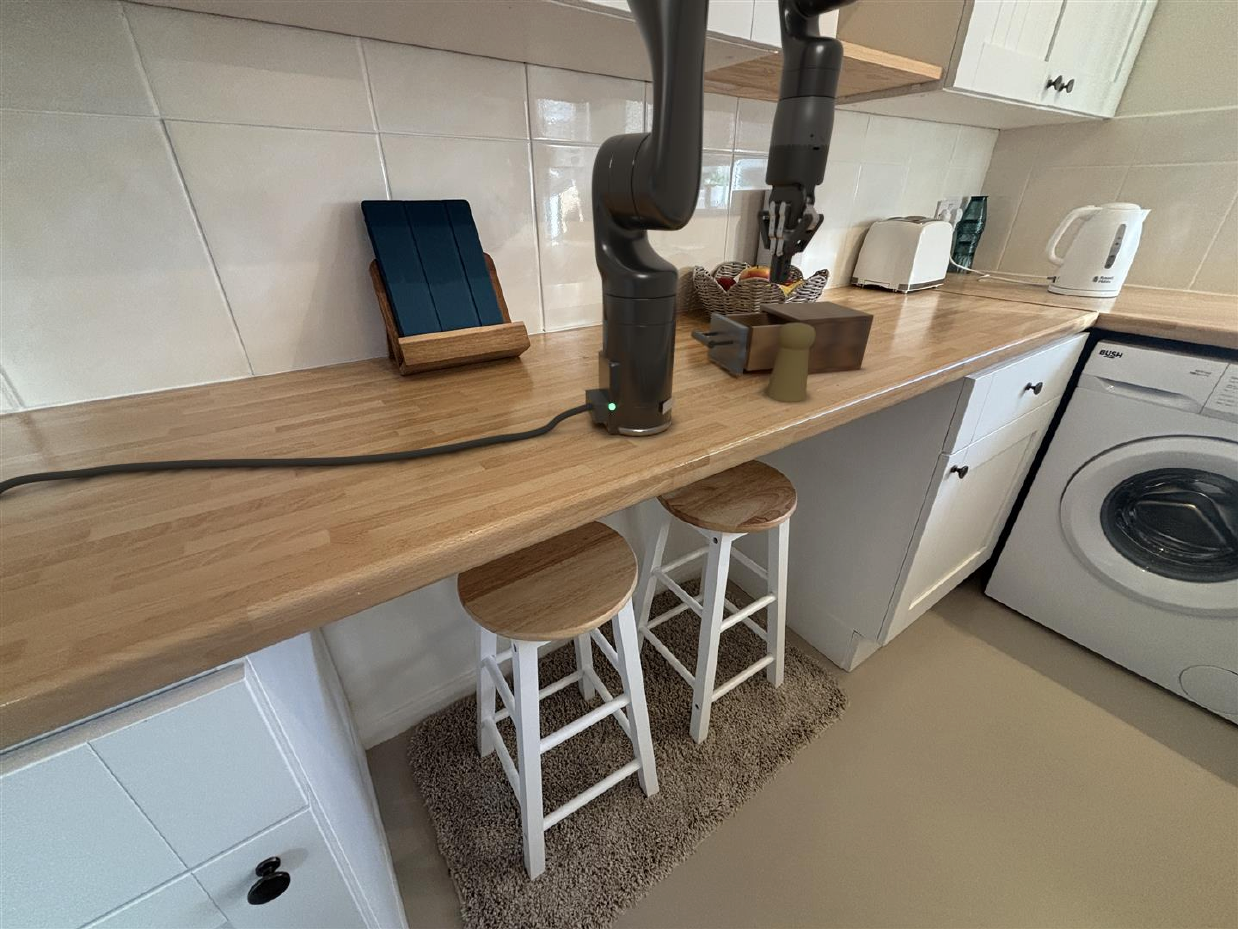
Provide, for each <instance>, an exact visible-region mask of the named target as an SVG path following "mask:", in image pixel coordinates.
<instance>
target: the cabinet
mask: <svg viewBox="0 0 1238 929" xmlns="http://www.w3.org/2000/svg"><path fill="white" fill-rule="evenodd" d="M764 312H768V313H771V314H774V315H776V316H779V317H781V318H784V319H786V320H789V321H791V322H794V323H804V324H808V325H810V326H812V327H813V328H814V330H815V340H814V342H813V344H812V345H811V346H810V347H809V355H808V372H807V375H814V374H825V373H836V372H847V371H855V370H861V368H862V365H863V361H864V357H865V352H866V349H867V345H868V341H869V337H870V333H871V329H872V325H873V321H874V317H875V315H874V314H871V313H867V312H865V311H862V310H858V309H855V308H852V307H848V306H845V305H841V304H838V303H835V302H832V301H829V300H827V301H825V300H824V301H808V302H807V301H806V302H792V303H791V302H790V303H769V304H761V305H760V308H759V313H764Z"/></svg>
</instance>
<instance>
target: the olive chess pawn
mask: <svg viewBox="0 0 1238 929" xmlns="http://www.w3.org/2000/svg"><path fill="white" fill-rule="evenodd" d="M778 338H779V343H780V345H781V346H780V349H779V352H778V356H777V359H776V362H775V365H774V368H772V372H771V375H770V379H769V381H768V386H767V389H766V392H765V394H766V395H767V396H768V397H769V398H771V399H773V400H776V401H781V402H787V403H797V402H802V401H804V400H806V398H807V388H808V387H807V386H808V374H807V372H808V355H809V347H810V346H811V345H812V344H813V342H814V340H815V330H814V328H813V327H812V326H810V325H808V324H804V323H788V324H785V325H783V326H782V327H781V329H780V331H779V335H778Z"/></svg>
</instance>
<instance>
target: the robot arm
mask: <svg viewBox="0 0 1238 929" xmlns="http://www.w3.org/2000/svg"><path fill="white" fill-rule="evenodd" d="M857 2H859V0H777V5H778V6H777V7H778V18H779V30H780V45H781V55H782V67H781V74H780V82H779V88H778V96H777V104H776V108H775V112H774V116H773V120H772V125H771V126H772V127H771V134H770V141H769V149H768V156H767V164H766V165H767V166H766V172H765V179H764V182H765V184H766V186H771V192H770V194H769V196H768V202H767V203H768V204H767V205H768V206H766V208H765V209H764V210H758V212H757V214H756V218H757V224H758V227H759V231H760V235H761V240H762V244H763V248H764V249H765V250H769V254H770V255H771V262H770V268H769V278H768V281H769V283H771V284H775V285H786V284H787V283H788V279H789V277H790V271H791V264H792V259H793V257H795V255H796V254H800V253H801V254H802V253H804V252H805V250H806V249H807V247H808V246H809V244H810V242H811V241H812V239H813V238H814V236H815V235H816V233H817V232H818V231H819V229H820V227H821V226H822V224H823V222H824V220H825V214H823V213H817V210H816V209H815V207H814V206H815V203H816V187H818V186H820V185H822V184H823V183H824V179H825V174H826V169H827V163H828V158H829V153H830V148H831V142H832V135H833V130H834V124H835V113H836V102H837V101H836V99H837V96H838V92H839V90H838V89H839V86H840V80H841V75H842V67H843V62H844V49H845V48H844V45H843V43H842V42H841V40H839V39H838V38H836V37H832V36H826V35H825V36H823V35H821V32H820V31H821V30H820V17H821V15H824V14H828V13H832V12H834V11H837V10H841V9H844V8H847V7H850V6H851V5H853V4H855V3H857ZM626 3H627V5H628V8H629V10H630V12H631V15H632V16H633V19H634V22H635V24H636V27H637V29H638V32H639V34H640V36H641V39H642V41H643V44H644V46H645V50H646V54H647V57H648V61H649V66H650V74H651V79H652V80H651V81H652V83H651V84H652V118H651V119H652V120H651V130H650V131H645V132H644V131H643V132H631V133H621V134H616V135H612V136H610V137H608V138H607V139H605V141H603V142H602V144H601V145H600V147H599V148H598V150H597V152H596V155H595V158H594V161H593V165H592V166H593V167H592V174H591V211H592V212H591V213H592V225H593V240H594V241H593V242H594V243H593V244H594V257H595V264H596V267H597V270H598V273H599V276H600V279H601V309H602V312H601V318H602V319H601V321H602V322H601V325H602V327H601V328H602V330H601V332H602V349H600V350H599V351H598V356H597V358H598V388H594V389H593V388H592V389H585V403H584V404H582V405H579V406H576V407H572V408H569V409H567V410H564V411H563V412H561V413H559V414H557V415H555V416H554V417H553V418H552V419H551V420H550V421H549V422H548V423H546V424H544V425H543V426H541V427H538V428H534V429H531V430H528V431H522V432H521V431H520V432H515V433H505V434H498V435H492V436H491V435H490V436H487V437H481V438H476V439H471V440H466V441H460V442H457V443H449V444H445V445H439V446H432V447H426V448H425V447H424V448H419V449H411V450H405V451H395V452H386V453H376V454H375V453H374V454H364V455H363V454H362V455H353V456H352V455H351V456H349V455H348V456H328V457H326V456H325V457H295V458H293V457H291V458H224V459H223V458H219V459H218V458H217V459H216V458H215V459H213V458H211V459H210V458H209V459H182V460H179V459H178V460H163V461H162V460H161V461H147V462H128V463H118V464H108V465H102V466H101V465H100V466H94V467H87V468H81V469H71V470H60V471H58V470H57V471H48V472H47V471H46V472H38V473H30V474H24V475H20V476H16V477H15V476H14V477H12V478H9V479H6V480H3V481H0V495H1V494H3V493H4V492H7V491H8V490H11V489H13V488H16V487H19V486H22V485H28V484H33V483H41V482H51V481H62V480H72V479H80V478H88V477H95V476H102V475H109V474H115V473H116V474H117V473H127V472H128V473H129V472H140V471H141V472H143V471H160V470H175V469H176V470H179V469H204V468H205V469H206V468H207V469H208V468H209V469H210V468H261V467H262V468H265V467H266V468H269V467H272V468H273V467H274V468H275V467H276V468H279V467H281V468H282V467H283V468H285V467H316V466H317V467H318V466H341V465H343V466H344V465H357V464H371V463H372V464H373V463H381V462H382V463H383V462H391V461H401V460H408V459H409V460H410V459H416V458H424V457H430V456H435V455H442V454H447V453H454V452H458V451H463V450H468V449H472V448H477V447H482V446H486V445H493V444H497V443H505V442H513V441H521V440H526V439H532V438H536V437H539V436H541V435H544V434H546V433H549V432H550V431H552V430H553V429H555V427H556V426H558V424H560V423H561V422H563V421H564V420H566V419H568V418H571V417H573V416H576V415H580V414H582V413H586V412H588V414H589V416H590V417H591V419H592V421H593V422H594V424H602V425H603V426H604V427H605V429H606V430H607V432H608V433H609V435H618V434H619V435H624V436H631V437H634V436H635V437H636V436H637V437H641V436H643V437H644V436H645V437H646V436H651V435H657V434H660V433H662V432H664V431H666V430H668V429H669V428H670V426H671V424H672V408H673V407H674V406H675V402H676V394H673V383H674V370H675V368H674V366H675V352H676V351H675V349H676V335H677V333H676V332H677V317H678V303H679V286H680V272H679V269H678V268H677V267H676V265H674V264H673V263H671V262H670V261H669V260H666V259H665V258H664V257H662V255H660V254H658V253H657V252H656V251H655V249H654V248H653V246H652V244H651V243H650V239H649V233H648V231H656V232H657V231H658V232H677V231H680V230H682V229H683V228H685V227H686V226H687V225H688V224H689V223H690V221H691V220H692V218H693V216H694V214H695V211H696V209H697V206H698V202H699V199H700V194H701V193H700V192H701V186H702V177H703V164H704V163H703V160H704V113H705V112H704V111H705V72H706V54H707V53H706V50H707V39H708V38H707V37H708V25H709V11H710V0H626Z"/></svg>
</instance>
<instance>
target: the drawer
mask: <svg viewBox="0 0 1238 929" xmlns="http://www.w3.org/2000/svg"><path fill="white" fill-rule="evenodd" d="M710 315H711V316H710V324H709V331H702V332H700V331H698V330H696V329H695V330H692V332H691V333H690V336H691V338H692V339H694V340H695V341H696V342H698V343H700V344H701V345H703V346H705V347H706V348H707V357H709V358H710V359H711V360H713V361H714V362H716V363H718V364H720V365H721V366H722V367H723V368H725V369H727V370H728V371H730V372H731V373H733V374H734V375H737V376H738V375H743V373H744V369H745V371H749V372H750V371H758V370H769V369H771V370H772V369H774V365H775V362H776V359H777V356H778V352H779V349H780V346H781V345H780V343H779V338H778V335H779V331H780V329H781V327H782V326H783V325H785V324H788V323H794V322H791V321H789V320H786V319H784V318H781V317H779V316H776V315H774V314H771V313H768V312H764V313H760V312H750V313H749V312H748V313H731V314H725V316H724V315H722V314H720V313H717V312H714V313H711V314H710Z"/></svg>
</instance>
